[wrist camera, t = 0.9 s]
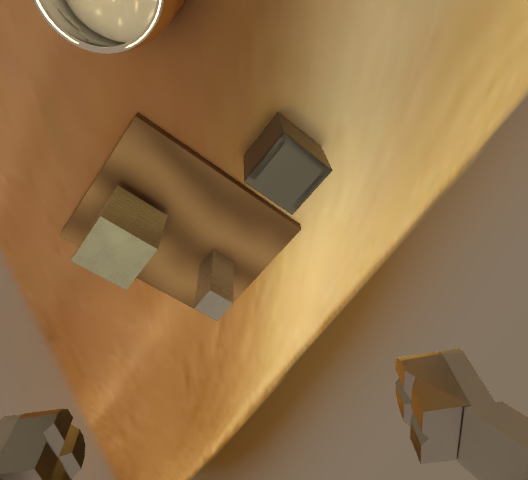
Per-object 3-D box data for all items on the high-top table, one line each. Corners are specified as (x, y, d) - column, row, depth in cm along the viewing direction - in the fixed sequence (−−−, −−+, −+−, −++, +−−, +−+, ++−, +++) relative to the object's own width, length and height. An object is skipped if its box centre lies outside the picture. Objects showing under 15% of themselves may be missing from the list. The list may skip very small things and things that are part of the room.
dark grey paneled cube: (278, 112, 40) (284, 132, 35) (320, 146, 42) (332, 170, 37) (243, 156, 42) (244, 181, 37) (285, 186, 44) (292, 215, 39)
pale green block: (121, 178, 41) (100, 216, 35) (169, 208, 43) (157, 249, 37) (95, 218, 43) (70, 260, 37) (142, 245, 45) (126, 289, 39)
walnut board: (137, 112, 39) (135, 116, 38) (299, 224, 46) (301, 229, 45) (62, 231, 45) (59, 235, 44) (216, 315, 52) (216, 320, 51)
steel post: (213, 248, 46) (210, 290, 40) (233, 261, 47) (233, 303, 41) (199, 265, 47) (193, 308, 41) (219, 277, 48) (217, 321, 42)
